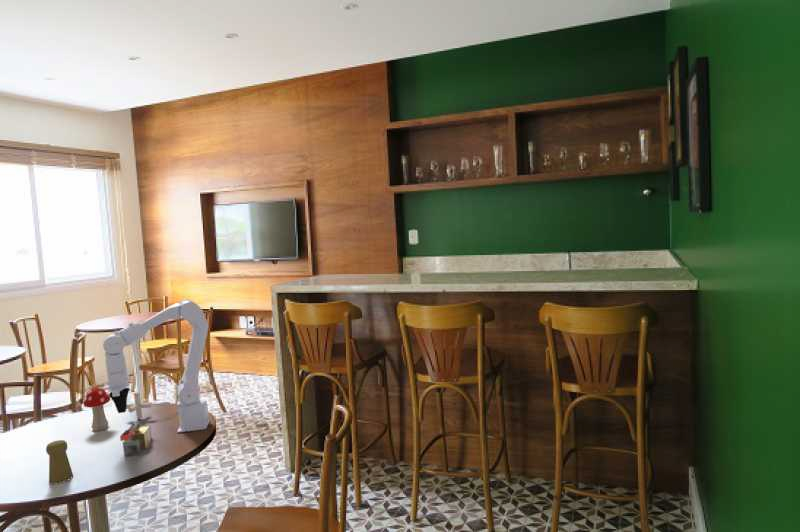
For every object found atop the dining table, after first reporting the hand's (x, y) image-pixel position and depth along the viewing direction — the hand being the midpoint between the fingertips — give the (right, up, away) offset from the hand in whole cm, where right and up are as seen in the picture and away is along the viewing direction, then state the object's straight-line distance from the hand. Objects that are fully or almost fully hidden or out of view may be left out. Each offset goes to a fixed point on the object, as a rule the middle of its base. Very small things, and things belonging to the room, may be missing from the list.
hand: (122, 412), depth 187 cm
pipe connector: (-5, -9, +25) cm, 27 cm away
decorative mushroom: (-16, -11, +18) cm, 26 cm away
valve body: (+7, -10, -4) cm, 13 cm away
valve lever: (+7, -4, -9) cm, 12 cm away
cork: (-6, -13, -24) cm, 28 cm away
